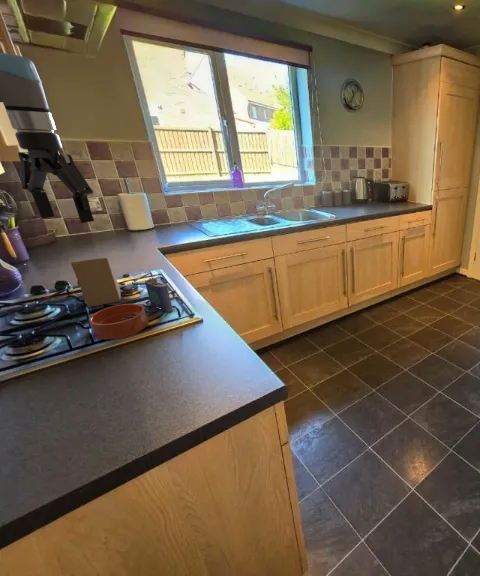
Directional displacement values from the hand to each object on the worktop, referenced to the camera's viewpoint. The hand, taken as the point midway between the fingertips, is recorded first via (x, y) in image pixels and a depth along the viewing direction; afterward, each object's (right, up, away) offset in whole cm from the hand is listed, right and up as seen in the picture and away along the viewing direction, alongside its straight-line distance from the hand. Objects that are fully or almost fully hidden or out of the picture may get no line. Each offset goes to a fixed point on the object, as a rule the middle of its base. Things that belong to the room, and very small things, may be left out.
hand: (67, 219), depth 87 cm
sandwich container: (-10, -21, +23) cm, 32 cm away
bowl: (+11, -30, +4) cm, 32 cm away
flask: (+14, -25, +16) cm, 33 cm away
